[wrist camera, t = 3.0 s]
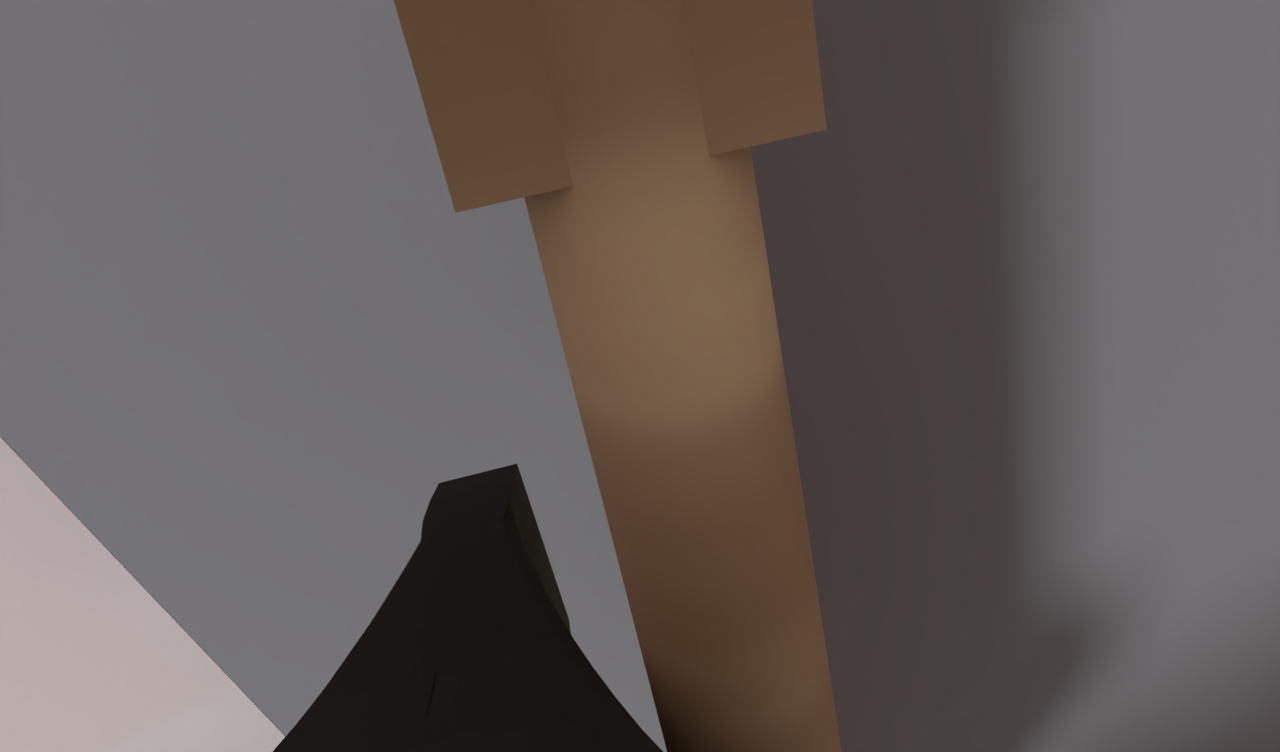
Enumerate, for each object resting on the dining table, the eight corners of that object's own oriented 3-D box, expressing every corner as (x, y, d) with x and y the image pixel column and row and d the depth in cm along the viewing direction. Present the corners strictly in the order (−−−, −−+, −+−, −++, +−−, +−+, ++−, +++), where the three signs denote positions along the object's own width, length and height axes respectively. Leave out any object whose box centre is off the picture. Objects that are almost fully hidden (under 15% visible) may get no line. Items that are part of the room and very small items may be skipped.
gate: (826, 892, 17) (975, 1396, 11) (714, 917, 17) (810, 1434, 11) (629, -235, 10) (782, -314, 4) (431, -192, 10) (326, -215, 4)
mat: (1953, 592, 18) (1990, 611, 17) (666, 1112, 21) (669, 1140, 20) (2243, -1420, 8) (2345, -1494, 8) (-277, 99, 11) (-310, 111, 11)
